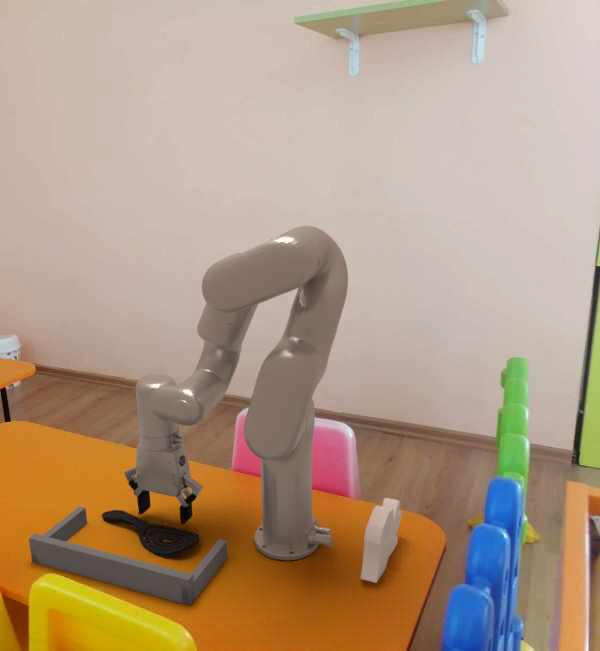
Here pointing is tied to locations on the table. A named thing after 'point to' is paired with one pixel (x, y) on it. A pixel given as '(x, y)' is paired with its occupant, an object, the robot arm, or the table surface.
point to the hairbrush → (156, 534)
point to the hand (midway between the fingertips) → (165, 515)
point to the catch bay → (122, 563)
